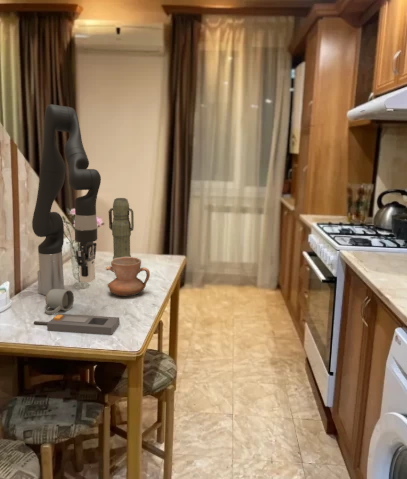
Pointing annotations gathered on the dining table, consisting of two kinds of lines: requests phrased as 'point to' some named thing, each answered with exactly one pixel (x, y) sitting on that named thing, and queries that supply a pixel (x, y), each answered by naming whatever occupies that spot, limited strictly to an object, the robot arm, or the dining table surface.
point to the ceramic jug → (127, 276)
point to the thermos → (121, 227)
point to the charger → (89, 270)
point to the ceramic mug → (59, 300)
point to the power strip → (82, 324)
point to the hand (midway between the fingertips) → (87, 274)
